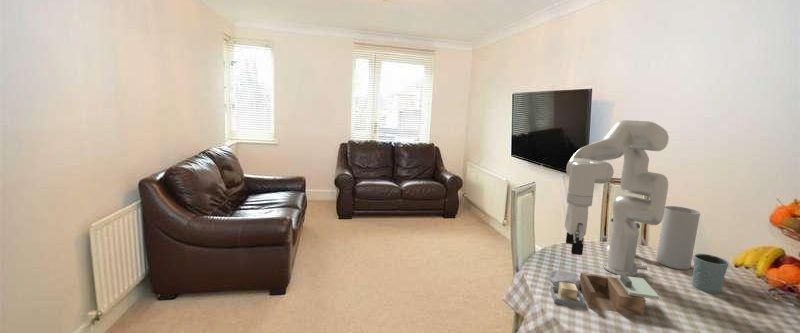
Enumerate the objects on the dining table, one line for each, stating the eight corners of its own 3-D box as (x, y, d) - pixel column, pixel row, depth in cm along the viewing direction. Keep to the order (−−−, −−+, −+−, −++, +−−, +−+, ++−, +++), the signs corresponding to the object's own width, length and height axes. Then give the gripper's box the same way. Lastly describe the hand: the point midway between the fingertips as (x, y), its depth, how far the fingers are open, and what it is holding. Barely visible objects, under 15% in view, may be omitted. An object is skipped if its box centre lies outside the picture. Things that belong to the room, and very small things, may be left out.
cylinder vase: (658, 256, 175) (667, 204, 171) (692, 265, 166) (701, 210, 163) (653, 263, 166) (661, 208, 162) (687, 272, 158) (698, 215, 154)
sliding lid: (642, 281, 132) (644, 273, 131) (659, 299, 119) (660, 290, 118) (616, 277, 134) (617, 269, 133) (629, 295, 121) (630, 286, 120)
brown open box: (626, 296, 134) (629, 279, 133) (642, 318, 119) (645, 299, 118) (578, 289, 137) (580, 272, 136) (588, 310, 123) (590, 291, 122)
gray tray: (578, 296, 132) (579, 290, 131) (584, 310, 123) (585, 303, 122) (549, 292, 134) (550, 285, 134) (553, 305, 125) (554, 298, 124)
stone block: (552, 294, 137) (582, 293, 134) (551, 281, 137) (581, 281, 134) (549, 281, 148) (576, 280, 145) (547, 269, 148) (575, 268, 145)
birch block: (573, 297, 130) (574, 284, 129) (575, 304, 125) (577, 290, 124) (557, 295, 131) (559, 281, 130) (559, 301, 126) (561, 288, 126)
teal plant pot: (719, 286, 146) (724, 257, 144) (726, 297, 137) (732, 266, 135) (686, 279, 151) (692, 251, 149) (692, 290, 142) (697, 260, 140)
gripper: (562, 192, 132) (557, 238, 135) (572, 204, 115) (566, 257, 118) (585, 194, 130) (580, 241, 133) (599, 207, 114) (592, 260, 116)
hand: (573, 248), depth 126 cm, fingers open, 9 cm apart
